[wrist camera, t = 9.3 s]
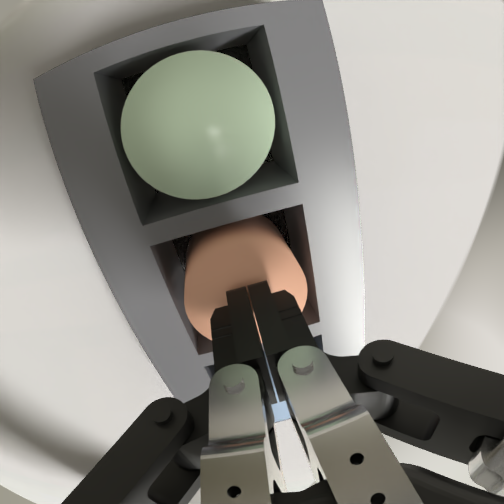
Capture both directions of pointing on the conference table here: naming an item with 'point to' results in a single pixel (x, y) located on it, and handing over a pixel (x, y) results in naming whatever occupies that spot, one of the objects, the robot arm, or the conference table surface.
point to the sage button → (197, 124)
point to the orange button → (237, 267)
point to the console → (224, 206)
